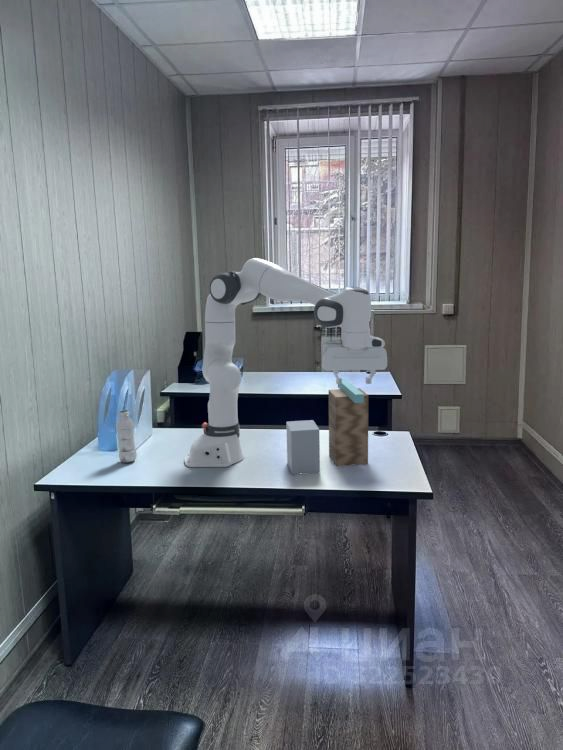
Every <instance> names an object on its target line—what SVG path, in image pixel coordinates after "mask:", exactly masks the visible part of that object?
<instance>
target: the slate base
mask: <svg viewBox="0 0 563 750" xmlns="http://www.w3.org/2000/svg"><path fill="white" fill-rule="evenodd" d="M285 424H286V427H285V428H286V457H287V458H286V460H287V461H286V462H287V465H288V467H289V470H290V473H291V475H292V474H294V475H301V474H300V473H308V474H318V472H320V473H321V467H320V466H321V464H320V463H321V461H320V459H321V458H320V456H321V454H320V453H321V451H320V449H321V447H320V445H321V444H320V428H319V426H318V425H317V424H316V422H315V421H314V419H310V420H294V421H293V420H291V421H286V423H285Z"/></svg>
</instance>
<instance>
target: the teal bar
mask: <svg viewBox="0 0 563 750" xmlns="http://www.w3.org/2000/svg"><path fill="white" fill-rule="evenodd" d="M341 379H342V384H337V388H338V389H341V390H342V391H343V392H344V393H345V394H346V395H347V396H348V397H349V398H350V399H351V400H352V401H353V402H354V403H364V394H363V393H362V392H361V391H359V390H358V389H357V388H358V387H356V386H355V385H353V384H352V383H351V382H350V381H348V380H347V379H346V378H341Z"/></svg>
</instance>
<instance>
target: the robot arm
mask: <svg viewBox="0 0 563 750" xmlns="http://www.w3.org/2000/svg"><path fill="white" fill-rule="evenodd" d="M262 295H263V296H265V297H267V298H268V299H271V300H274V301H279V302H305V303H309V304H311V305H314V309H313V316H314V320H315V321H316V323H317V324H318V325H319V326H321V327H323V328H328V329H331V328H336V327H340V328H341V329H340V330H341V334H340V335H341V338H340V340H339V339H337V340H327V341H325V342H324V343H323V344H322V346H321V352H322V359H321V360H322V362H321V366H322V368H323V369H324V370H325V371H328V372H329V371H332V373H333V376H334V377H335V379H336V380H335V381H336V385H338V384H342V379H343V378H342V377H340V376H339V374H340V371H369V375H368V377H365V384H366V385H370V384H372V381H373V380H372V379H373V378H374V376H375V375H376V371H382V370H386V369H387V367H388V353H387V350H386V349H385V348H384V347H385V345H386V342H385V340H384V339H383V338H380V337H378V336H375V335H373V334H372V335H371V327H370V321H371V317H372V302H371V301H372V300H371V295H370V292H369V291H368V290H367V289H365V288H362V287H358V286H357V287H356V286H346V287H345V288H344V289H343V290H341V291H339V292H338V293H335V292H332V291H331V290H328V289H326V288H323V287H322V286H320V285H317V284H314V283H312V282H310V281H307V280H305V279H304V278H302V277H300V276H298V275H297V274H294V273H293V272H291V271H290V270H287V269H286V268H284V267H282V266H280V265H278V264H276V263H274V262H271V261H268V260H265V259H263V258H259V257H253V258H250V259H248V260H247V261H246V262H245V263H244V264H243V266H242V268H241V270H240V271H234V270H232V271H226V272H221V273H219V274H217V275H214V276H213V277H212V279H211V280H210V282H209V294H208V295H207V298H206V304H205V311H204V314H205V315H204V334H205V335H204V336H205V337H204V338H205V339H204V340H205V342H204V343H205V344H204V352H203V359H202V361H203V363H202V366H201V371H202V376H203V378H204V379H205V381H206V382H207V383H208V384H209V388H210V389H209V390H210V391H209V397H208V399H209V400H208V402H207V413H208V417H207V418H208V423H207V422H206V421H205V422H203V423H202V428H203V434H202V435H200V436H199V437H197V438H196V440H194V441H193V442H192V444H191V445H190V449H189V453H187V454H186V455H185V456H184V465H185V466H186V467H188V468H227V467H230V466H231V465H233V464H238V463H239V462H241V461H243V459H244V458H245V457H244V454H243V451H242V447H241V442H240V441H241V440H240V435H241V432H240V431H241V429H240V427H241V426H240V422H239V418H238V417H239V416H238V398H239V391H240V385H241V382H242V374H241V371H240V369H239V367H238V366H237V365H236V364H235V363H233V362H232V361H233V360H232V359H233V353H234V347H235V345H236V309H237V307H238V305H242V306H243V305H246V304H250V303H253V302H254V301H256V300H258V299H260V298H261V297H262Z"/></svg>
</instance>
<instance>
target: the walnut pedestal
mask: <svg viewBox="0 0 563 750" xmlns="http://www.w3.org/2000/svg"><path fill="white" fill-rule="evenodd" d="M356 388H357V389H358V390H359V391H361V392H362V393H363V394H364V403H354V402H353V401H352V400H351V399H350V398H349V397H348V396H347V395H346V394H345V393H344V392H343V391H342V390H341V389H339V388H338V389H336V388H335V389H328V456H329V457H330V459H331V461H332V462H333V464H334V466H335V467H346V466H358V465H359V466H360V465H361V464H362V465H369V394H367V393H366V392H365V391H364V390H362V389H361V388H359V387H356Z"/></svg>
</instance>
